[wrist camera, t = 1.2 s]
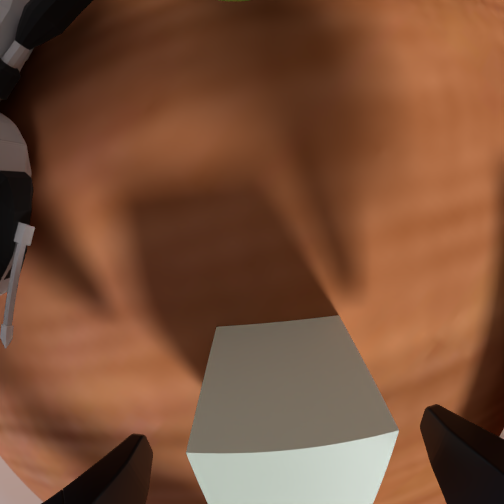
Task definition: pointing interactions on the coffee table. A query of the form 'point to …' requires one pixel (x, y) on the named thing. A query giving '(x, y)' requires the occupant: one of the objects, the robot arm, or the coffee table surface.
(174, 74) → the coffee table surface
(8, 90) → the robot toy
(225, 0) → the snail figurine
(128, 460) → the robot arm
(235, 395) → the part block
